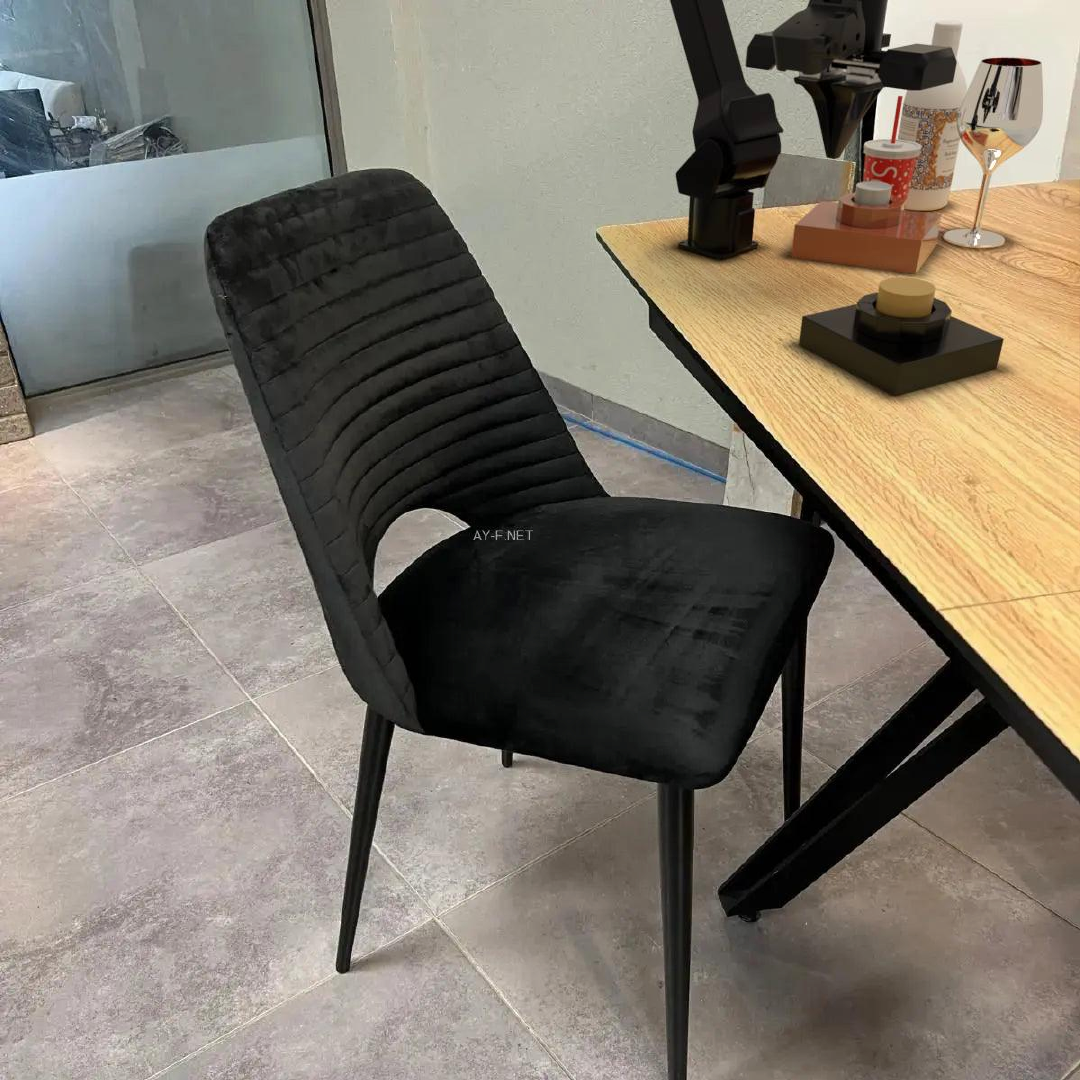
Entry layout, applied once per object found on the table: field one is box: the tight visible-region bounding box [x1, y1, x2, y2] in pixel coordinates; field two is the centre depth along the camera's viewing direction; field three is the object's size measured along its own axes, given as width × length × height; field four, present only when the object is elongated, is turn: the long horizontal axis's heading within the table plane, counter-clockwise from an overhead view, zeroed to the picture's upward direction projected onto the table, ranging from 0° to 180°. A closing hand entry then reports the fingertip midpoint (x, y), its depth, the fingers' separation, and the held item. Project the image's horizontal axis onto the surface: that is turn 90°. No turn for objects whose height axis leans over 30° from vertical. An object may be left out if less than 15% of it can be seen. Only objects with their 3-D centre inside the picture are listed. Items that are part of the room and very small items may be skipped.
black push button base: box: [798, 291, 1005, 397], centre depth 86 cm, size 12×11×4 cm
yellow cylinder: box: [876, 276, 937, 318], centre depth 85 cm, size 4×4×2 cm
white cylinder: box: [854, 181, 892, 206], centre depth 107 cm, size 4×4×2 cm
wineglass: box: [942, 56, 1044, 249], centre depth 108 cm, size 8×8×18 cm
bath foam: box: [897, 20, 968, 212], centre depth 120 cm, size 7×7×20 cm
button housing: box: [790, 192, 942, 275], centre depth 109 cm, size 13×10×6 cm
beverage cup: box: [862, 95, 921, 210], centre depth 114 cm, size 6×6×14 cm
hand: (833, 158), depth 97 cm, fingers closed
